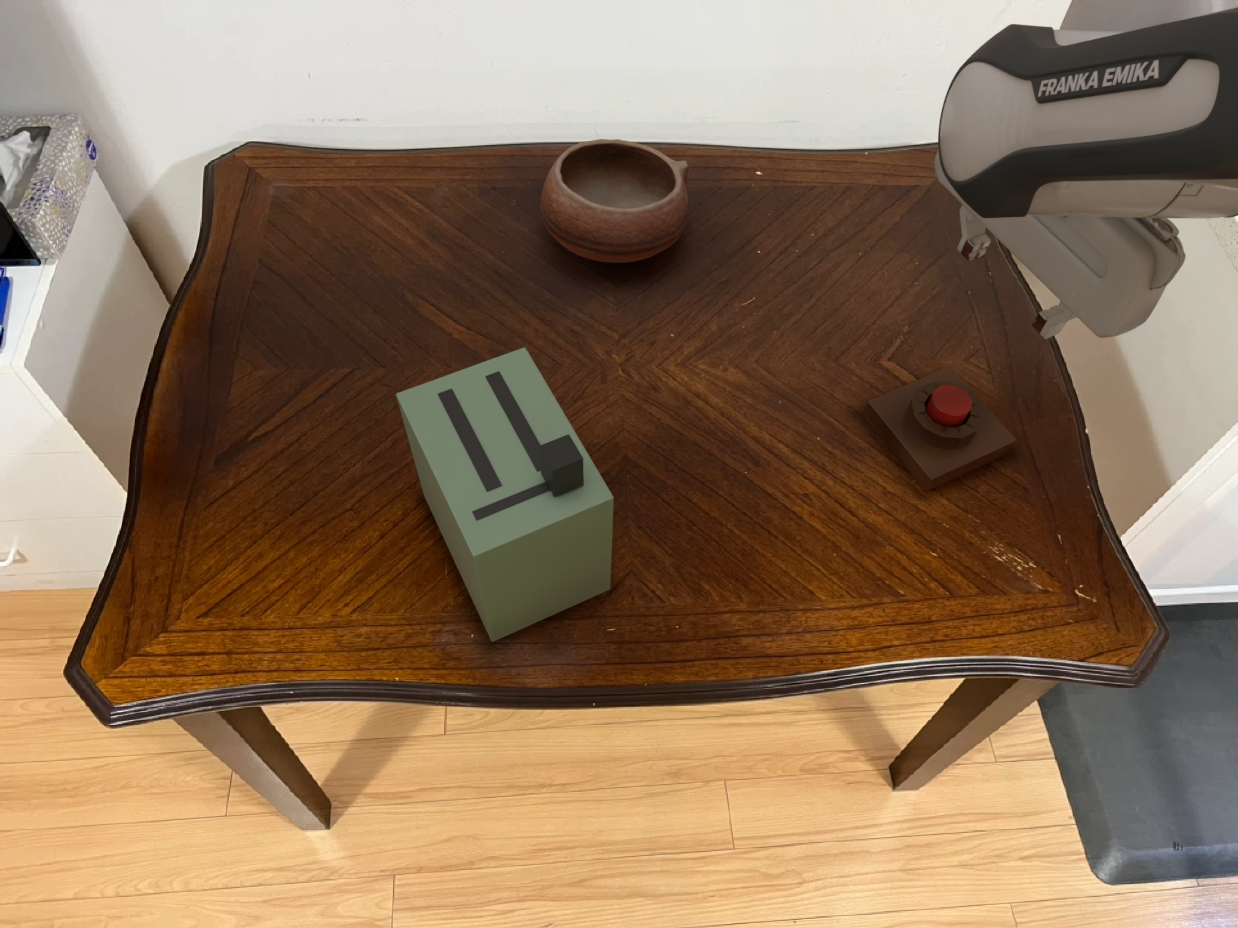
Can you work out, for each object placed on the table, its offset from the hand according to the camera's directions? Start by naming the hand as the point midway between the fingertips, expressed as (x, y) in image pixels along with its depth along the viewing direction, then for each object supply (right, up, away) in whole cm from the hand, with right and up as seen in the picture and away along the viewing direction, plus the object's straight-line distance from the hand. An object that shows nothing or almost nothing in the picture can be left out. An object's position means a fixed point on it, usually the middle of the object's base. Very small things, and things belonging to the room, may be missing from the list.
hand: (1006, 291), depth 75 cm
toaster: (-40, -21, +8) cm, 46 cm away
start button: (0, -9, +13) cm, 16 cm away
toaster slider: (-35, -15, -6) cm, 38 cm away
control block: (0, -11, +16) cm, 19 cm away
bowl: (-31, +11, +30) cm, 45 cm away
